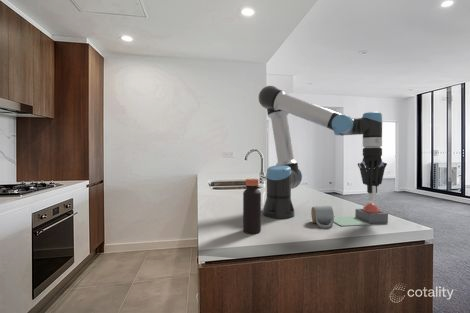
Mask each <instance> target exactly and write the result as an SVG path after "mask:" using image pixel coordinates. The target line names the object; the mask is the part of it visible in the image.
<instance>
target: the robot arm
mask: <svg viewBox="0 0 470 313" xmlns="http://www.w3.org/2000/svg"><path fill="white" fill-rule="evenodd" d="M258 102H259V104H260V105H261V107H263V108H264V109H266V112H267V117H268V118H270V119H271V127H272V132H273V139H274V145H275V151H276V159H277V162H276V164H275V165H272V166H269V167H268V168H267V169H266V199H265V203H264V205H263V208H262V214H263V216H265V217H267V218H268V217H269V218H273V219H290V218H293V217H295V208H294V205H293V201H292V190H293V189H295V188H297V187H299V186H300V184H301V183H302V181H303V174H302V171H301V170H300V168H299V164H298V161H296V160H295V158H294V153H293V152H294V151H293V145H292V139H291V133H290V132H291V131H290V126H289V120H288V114H291V115H292V116H295V117H298V118H300V119H303V120H306V121H308V122H311V123H314V124H315V125H317V126H318V125H319V126H320V127H321V126H322V128H326V129H329V130H331V131H333V133H334V135H335V136H343V137H344V136H355V135H356V136H357V135H362V156H363V158H362V161H361V162H358V163H357V168H359V172H360V177H361V181H362V183H363V185H365V186H367V187H366V190H367V191H366V192H367V193H368V200H369V201H372V202H375V201H377V193H378V187H379V186H380V185H382V182H383V178H384V173H385V170H386V167H387V166H388V163H386V162H384V161H383V159H382V156H383V148H382V147H383V114H382V113H381V112H379V111H368V112H364V113H363V114H362V116H361V117H357V118H352V117H350V116H349V115H348V114H346V113H345V114H343V113H339V112H337V111H334V110H332V109H328V108H325V107H322V106H321V105H317V104H314V103H311V102H309V101H306V100H303V99H300V98H297V97H294V96H291V95H289V94H287V93H286V92H285V91H283V90H281V89H279V88H278V87H276V86H275V85H267V86H264V87H263V88H262V89H261V90H260V91H259V93H258Z"/></svg>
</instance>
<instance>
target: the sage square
mask: <svg viewBox="0 0 470 313" xmlns="http://www.w3.org/2000/svg"><path fill="white" fill-rule="evenodd" d="M333 224H336V225H338V226H340V227H359V226H370V225H371V223H367V222H364V221H362V220H360V219H357V218H355V217H354V216H352V215H339V216H336V215H335V216H334V222H333Z"/></svg>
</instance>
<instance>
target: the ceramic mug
mask: <svg viewBox="0 0 470 313" xmlns="http://www.w3.org/2000/svg"><path fill="white" fill-rule="evenodd" d="M310 210H311V213H310V215H311V220H312V222H313V224H316V225H317V226H318V227H320V228H322V229H328V228H331V226H332V225H334V210H333V206H332V205H315V206H312V207H311V209H310Z"/></svg>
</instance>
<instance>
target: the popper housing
mask: <svg viewBox="0 0 470 313" xmlns="http://www.w3.org/2000/svg"><path fill="white" fill-rule="evenodd" d="M354 212H355V218H357V219H360V220H362V221H364V222H366V223H369V224H383V223H384V224H386V223H388V222H389V213H388V212H385V211H382V210H380V213H370V214H369V213H367V212H364V211H363V208H355V211H354Z"/></svg>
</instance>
